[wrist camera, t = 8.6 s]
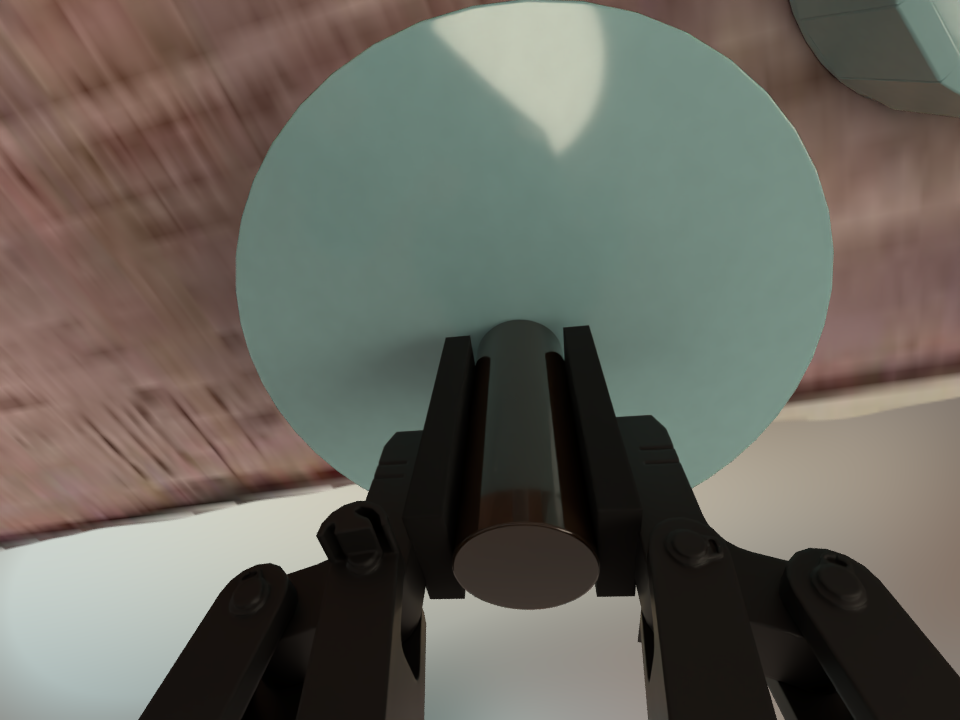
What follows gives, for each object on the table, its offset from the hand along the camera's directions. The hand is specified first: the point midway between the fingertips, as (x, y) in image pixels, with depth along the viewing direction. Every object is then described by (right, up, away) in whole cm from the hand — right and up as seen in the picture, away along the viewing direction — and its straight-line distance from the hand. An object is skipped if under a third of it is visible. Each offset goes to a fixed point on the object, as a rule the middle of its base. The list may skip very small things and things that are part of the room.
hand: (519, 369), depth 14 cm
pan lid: (0, +1, +1) cm, 1 cm away
